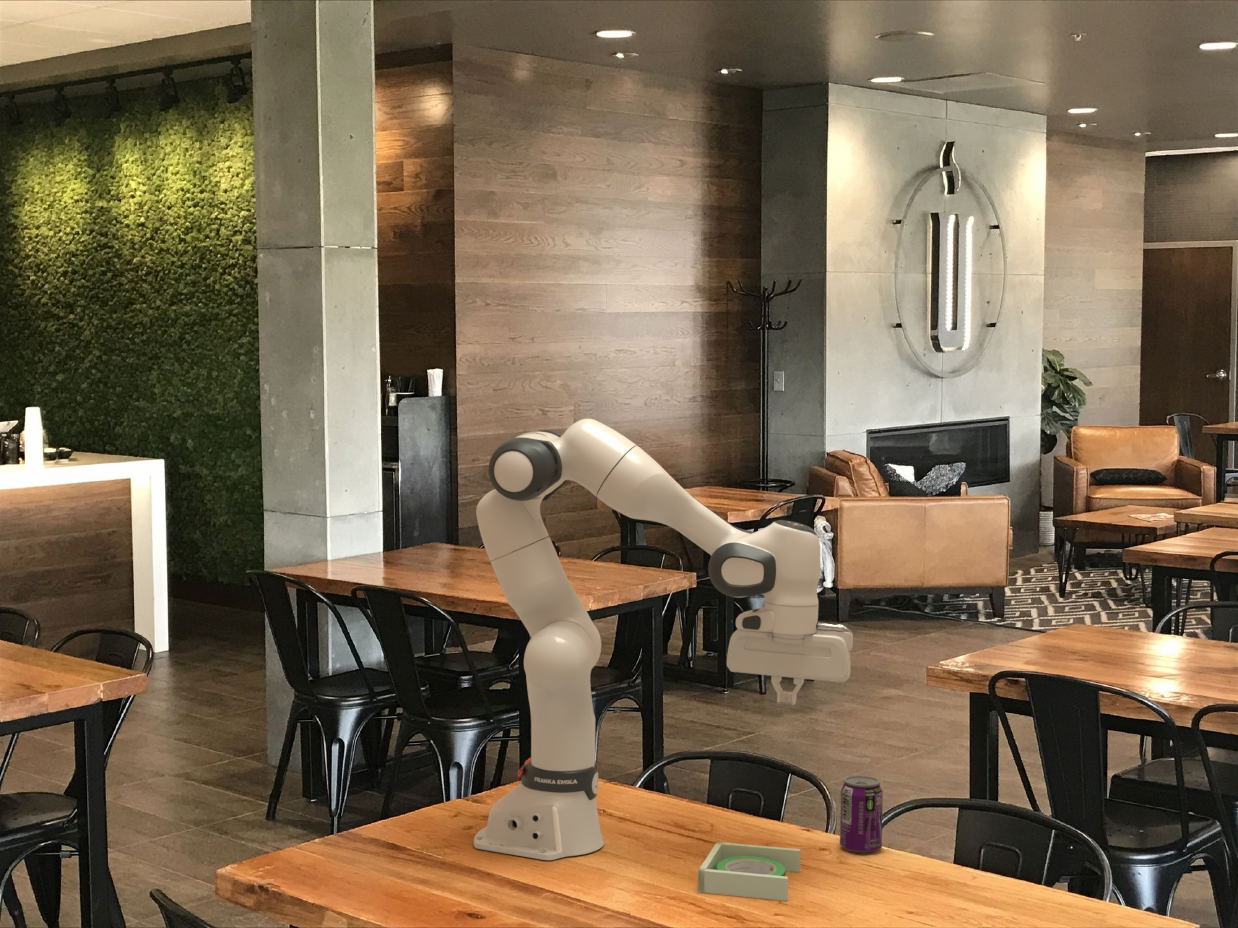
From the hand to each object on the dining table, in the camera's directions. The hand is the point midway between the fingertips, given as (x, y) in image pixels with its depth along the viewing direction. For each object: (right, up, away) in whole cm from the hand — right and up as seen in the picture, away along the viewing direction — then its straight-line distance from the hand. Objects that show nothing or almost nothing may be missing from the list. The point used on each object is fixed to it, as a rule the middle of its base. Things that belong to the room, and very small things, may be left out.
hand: (786, 703), depth 240 cm
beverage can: (+14, -27, +11) cm, 32 cm away
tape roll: (-6, -28, -6) cm, 30 cm away
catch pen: (-6, -28, -6) cm, 29 cm away
